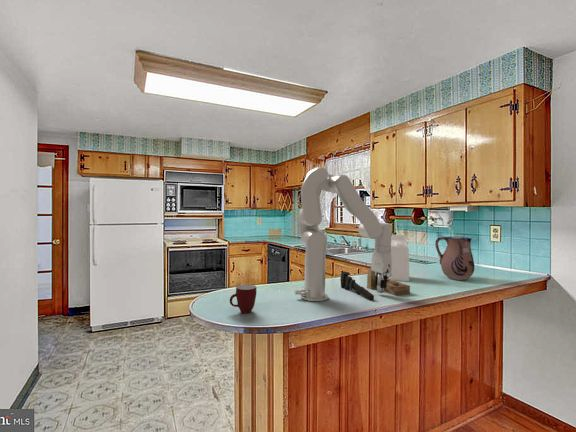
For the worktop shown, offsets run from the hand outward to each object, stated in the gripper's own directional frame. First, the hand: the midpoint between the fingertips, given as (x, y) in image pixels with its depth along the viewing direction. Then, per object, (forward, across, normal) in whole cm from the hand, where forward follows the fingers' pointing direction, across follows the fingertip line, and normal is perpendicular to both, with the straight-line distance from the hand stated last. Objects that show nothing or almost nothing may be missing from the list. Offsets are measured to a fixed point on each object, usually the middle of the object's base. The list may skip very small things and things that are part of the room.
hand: (380, 286), depth 154 cm
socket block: (+4, -5, +11) cm, 13 cm away
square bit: (+4, -12, +4) cm, 13 cm away
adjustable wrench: (+5, -6, -9) cm, 12 cm away
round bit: (+3, 0, 0) cm, 3 cm away
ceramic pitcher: (+3, -14, +66) cm, 67 cm away
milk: (+4, -26, +33) cm, 42 cm away
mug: (+6, +1, -68) cm, 68 cm away
